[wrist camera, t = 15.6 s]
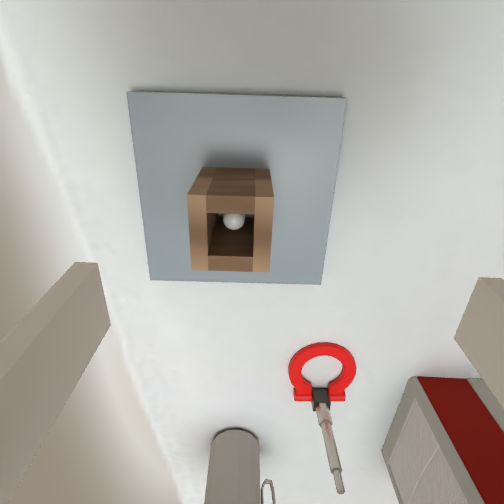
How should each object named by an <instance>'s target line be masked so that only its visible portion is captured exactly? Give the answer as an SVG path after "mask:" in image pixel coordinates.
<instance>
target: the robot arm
mask: <svg viewBox="0 0 504 504" xmlns="http://www.w3.org/2000/svg"><path fill="white" fill-rule="evenodd" d="M110 325H111V324H110V319H109V315H108V310H107V305H106V301H105V296H104V291H103V287H102V282H101V277H100V273H99V268H98V263H86V262H75V263H74V264H73V265H72V266H71V267H70V268H69V269H68V270H67V271H66V273H65V274H64V275H63V276H62V277H61V278H60V279H59V280H58V281H57V282H56V283H55V284H54V285H53V286H52V287H51V289H50V290H49V291H48V292H47V293H46V294H45V295H44V296H43V297H42V298H41V299H40V300H39V301H38V302H37V303H36V304H35V305H34V307H33V308H32V309H31V310H30V311H29V312H28V313H27V314H26V315H25V316H24V317H23V318H22V319H21V321H19V322H18V324H17V325H16V326H15V327H14V328H13V329H12V330H11V331H10V332H9V333H8V334H7V335H6V336H5V338H4V339H3V340H2V341H1V342H0V504H8V502H9V501H10V499H11V497H12V495H13V493H14V492H15V490H16V489H17V487H18V485H19V483H20V481H21V480H22V478H23V476H24V475H25V473H26V471H27V469H28V468H29V466H30V464H31V462H32V461H33V459H34V457H35V456H36V454H37V452H38V450H39V449H40V447H41V445H42V443H43V441H44V440H45V438H46V436H47V435H48V433H49V431H50V429H51V427H52V426H53V424H54V423H55V421H56V419H57V417H58V416H59V413H60V412H61V410H62V409H63V407H64V405H65V403H66V402H67V400H68V398H69V396H70V395H71V393H72V391H73V389H74V388H75V386H76V384H77V383H78V381H79V379H80V377H81V376H82V374H83V372H84V370H85V369H86V367H87V365H88V364H89V362H90V360H91V358H92V357H93V355H94V353H95V351H96V350H97V348H98V346H99V344H100V343H101V341H102V339H103V337H104V336H105V334H106V332H107V331H108V329H109V327H110ZM454 339H455V341H456V342H457V344H458V345H459V346H460V348H461V349H462V351H463V352H464V353H465V355H466V356H467V358H468V359H469V360H470V362H471V363H472V365H473V366H474V368H475V369H476V370H477V372H478V373H479V375H480V376H481V377H482V379H483V380H484V382H485V383H486V384H487V386H488V387H489V389H490V390H491V392H492V393H493V394H494V396H495V397H496V399H497V400H498V401H499V403H500V404H501V406H502V407H503V408H504V280H503V279H502V278H484V277H479V278H478V280H477V283H476V285H475V288H474V290H473V293H472V295H471V297H470V300H469V302H468V305H467V307H466V310H465V312H464V314H463V317H462V319H461V322H460V324H459V326H458V329H457V331H456V334H455V336H454Z"/></svg>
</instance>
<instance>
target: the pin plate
mask: <svg viewBox="0 0 504 504" xmlns="http://www.w3.org/2000/svg"><path fill="white" fill-rule="evenodd" d="M127 100H128V108H129V116H130V124H131V132H132V139H133V147H134V155H135V163H136V171H137V179H138V187H139V194H140V202H141V210H142V218H143V226H144V234H145V242H146V249H147V257H148V265H149V273H150V280H163V281H201V282H239V283H277V284H315V285H321V281H322V274H323V267H324V260H325V253H326V246H327V238H328V231H329V224H330V217H331V210H332V203H333V196H334V189H335V182H336V175H337V168H338V161H339V154H340V147H341V140H342V133H343V126H344V119H345V111H346V104H347V98H343V97H311V96H278V95H246V94H213V93H180V92H147V91H129V92H127ZM202 167H224V168H255V169H270V174H271V180H272V187H273V193H274V210H273V226H272V242H271V258H270V272H238V271H204V270H191V256H190V239H189V222H188V205H187V193H188V192H189V190H190V188H191V186H192V185H193V183H194V181H195V179H196V177H197V176H198V174H199V172H200V170H201V169H202ZM218 217H223V222H224V224H225V226H226V227H227V228H229V229H232V230H236V229H239V228H241V227H242V226H243V224H244V222H245V217H251V218H253V214H224V213H218Z"/></svg>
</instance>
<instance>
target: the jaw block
mask: <svg viewBox="0 0 504 504" xmlns="http://www.w3.org/2000/svg"><path fill="white" fill-rule="evenodd" d="M187 205H188V222H189V239H190V256H191V270H204V271H238V272H270V258H271V242H272V226H273V210H274V193H273V187H272V180H271V174H270V169H255V168H224V167H202V169H201V170H200V172H199V174H198V176H197V177H196V179H195V181H194V183H193V185H192V186H191V188H190V190H189V192H188V193H187ZM218 213H224V214H253V218H251V217H245V222H244V224H243V226H242V227H241V228H239V229H236V230H232V229H229V228H227V227H226V226H225V224H224V222H223V217H218Z"/></svg>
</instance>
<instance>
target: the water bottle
mask: <svg viewBox="0 0 504 504" xmlns="http://www.w3.org/2000/svg"><path fill="white" fill-rule="evenodd" d="M265 484H270V488H271V491H272V500H273V504H275V493H274V487H273V483H272V480H268V479H265V481H264V482H263V484H262V487H261V504H263V487H264V485H265ZM204 504H260V464H259V442H258V441H257V439H256V438H255V437H254V436H253V435H251V434H250V433H248V432H245V431H242V430H227V431H225V432H222V433H220V434H218V435H217V436H216V438H215V439H214V440H213V442H212V443H211V450H210V459H209V468H208V476H207V485H206V493H205V502H204Z"/></svg>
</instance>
